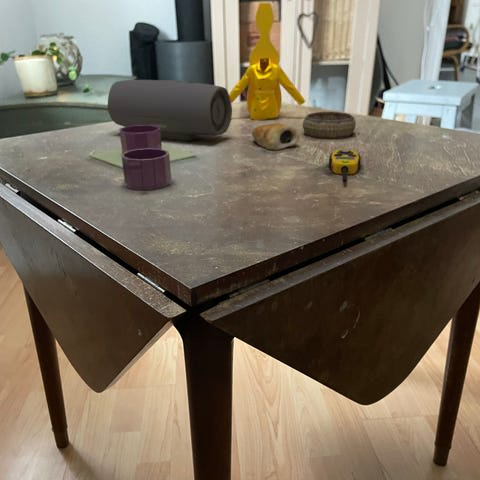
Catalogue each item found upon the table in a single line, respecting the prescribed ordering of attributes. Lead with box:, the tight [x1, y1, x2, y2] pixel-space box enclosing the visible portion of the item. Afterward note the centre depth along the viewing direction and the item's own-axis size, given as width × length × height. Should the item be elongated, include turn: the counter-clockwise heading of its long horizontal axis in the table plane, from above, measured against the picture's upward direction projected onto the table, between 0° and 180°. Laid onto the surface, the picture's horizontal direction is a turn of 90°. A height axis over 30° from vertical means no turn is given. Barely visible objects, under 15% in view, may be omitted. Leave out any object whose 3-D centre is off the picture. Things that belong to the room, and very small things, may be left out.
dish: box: [118, 125, 163, 154], centre depth 90 cm, size 7×7×4 cm
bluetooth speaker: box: [107, 79, 233, 141], centre depth 102 cm, size 23×9×10 cm, turn 62°
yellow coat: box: [228, 2, 306, 121], centre depth 114 cm, size 18×8×22 cm, turn 88°
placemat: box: [88, 144, 197, 169], centre depth 91 cm, size 13×13×1 cm
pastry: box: [251, 122, 300, 151], centre depth 97 cm, size 9×7×4 cm
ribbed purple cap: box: [121, 148, 172, 191], centre depth 77 cm, size 7×7×4 cm
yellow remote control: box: [328, 149, 362, 183], centre depth 81 cm, size 5×2×15 cm
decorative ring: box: [302, 111, 357, 139], centre depth 104 cm, size 10×3×10 cm
